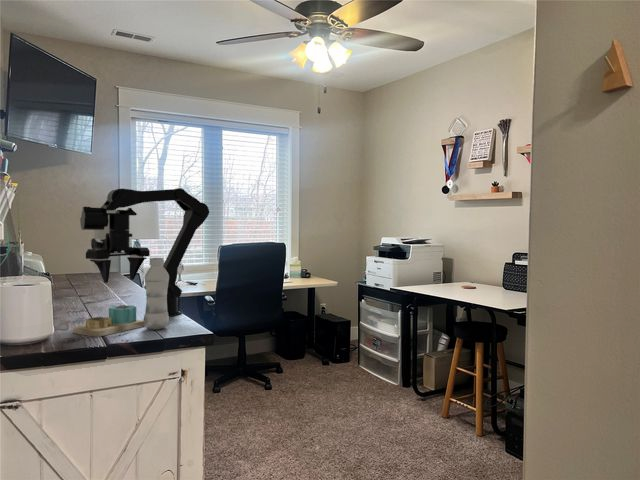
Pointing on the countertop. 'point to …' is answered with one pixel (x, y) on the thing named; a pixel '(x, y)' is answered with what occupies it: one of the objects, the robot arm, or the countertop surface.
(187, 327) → the countertop surface
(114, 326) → the gear board
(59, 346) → the countertop surface
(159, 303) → the plastic bottle
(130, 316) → the teal gear
